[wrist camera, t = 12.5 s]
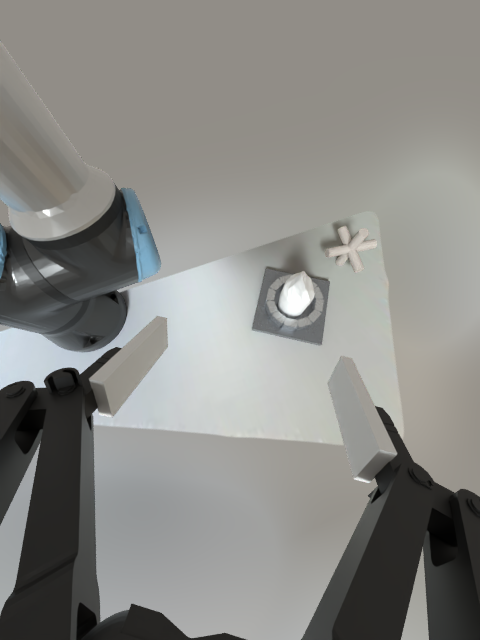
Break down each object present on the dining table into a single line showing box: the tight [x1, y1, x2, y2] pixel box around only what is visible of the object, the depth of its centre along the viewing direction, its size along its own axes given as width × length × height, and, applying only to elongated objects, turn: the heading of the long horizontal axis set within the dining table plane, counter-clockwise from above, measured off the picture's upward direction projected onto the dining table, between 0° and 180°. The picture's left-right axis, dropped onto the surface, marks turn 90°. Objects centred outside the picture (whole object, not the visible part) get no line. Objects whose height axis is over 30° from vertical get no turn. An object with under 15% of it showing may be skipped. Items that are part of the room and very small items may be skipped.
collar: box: [252, 269, 330, 345], centre depth 43 cm, size 14×14×4 cm
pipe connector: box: [325, 226, 377, 273], centre depth 43 cm, size 10×10×10 cm
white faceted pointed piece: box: [278, 271, 315, 318], centre depth 38 cm, size 6×12×6 cm
